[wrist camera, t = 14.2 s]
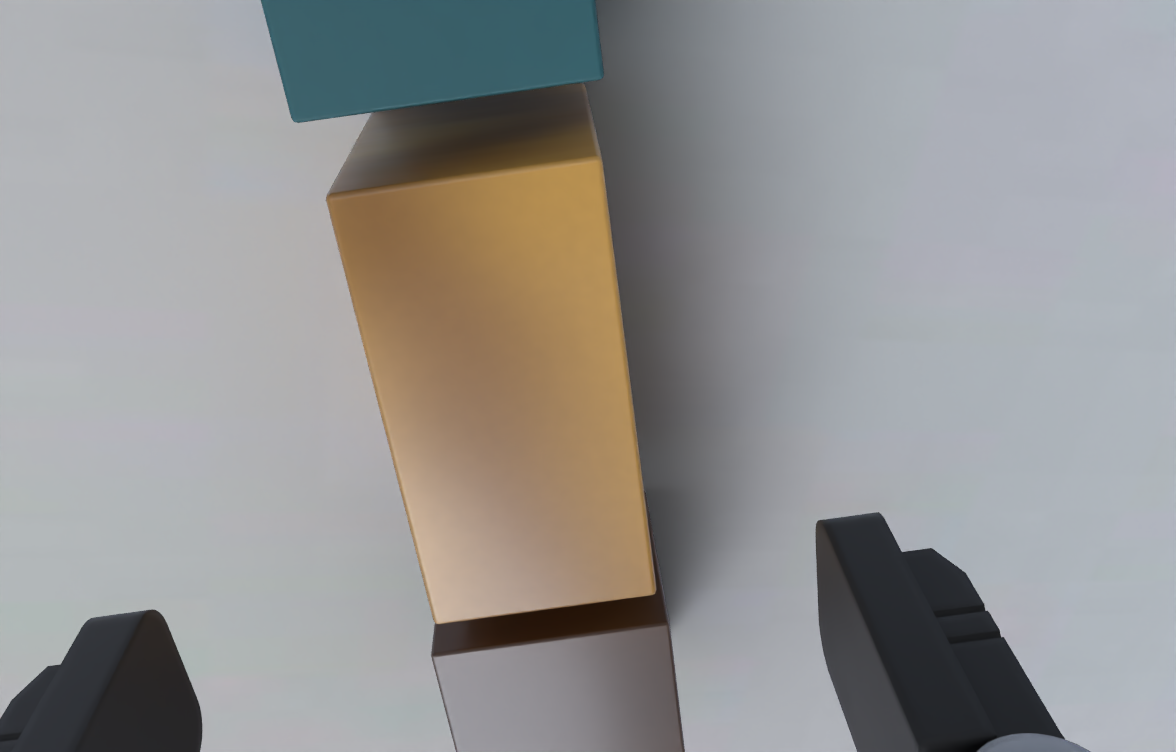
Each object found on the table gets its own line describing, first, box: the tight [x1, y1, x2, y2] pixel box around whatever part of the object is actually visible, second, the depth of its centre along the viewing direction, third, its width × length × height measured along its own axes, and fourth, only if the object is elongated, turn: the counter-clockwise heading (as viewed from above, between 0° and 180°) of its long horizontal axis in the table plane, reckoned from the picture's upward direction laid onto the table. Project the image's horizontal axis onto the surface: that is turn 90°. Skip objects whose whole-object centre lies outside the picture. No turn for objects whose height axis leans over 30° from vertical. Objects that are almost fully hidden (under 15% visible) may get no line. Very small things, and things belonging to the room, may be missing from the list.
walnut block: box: [431, 491, 685, 752], centre depth 23 cm, size 4×4×4 cm
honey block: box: [326, 83, 656, 624], centre depth 19 cm, size 4×8×5 cm, turn 7°
